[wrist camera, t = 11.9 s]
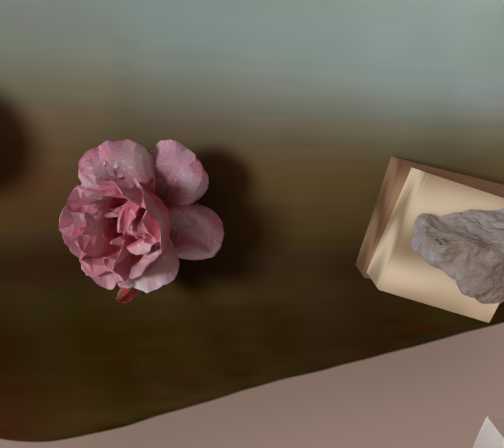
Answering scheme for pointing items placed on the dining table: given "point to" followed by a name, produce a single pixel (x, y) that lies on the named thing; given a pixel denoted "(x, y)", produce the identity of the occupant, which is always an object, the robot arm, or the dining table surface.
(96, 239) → the flower
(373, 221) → the tower base
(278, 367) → the dining table surface
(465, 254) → the stone
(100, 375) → the dining table surface
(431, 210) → the tower top
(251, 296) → the dining table surface
